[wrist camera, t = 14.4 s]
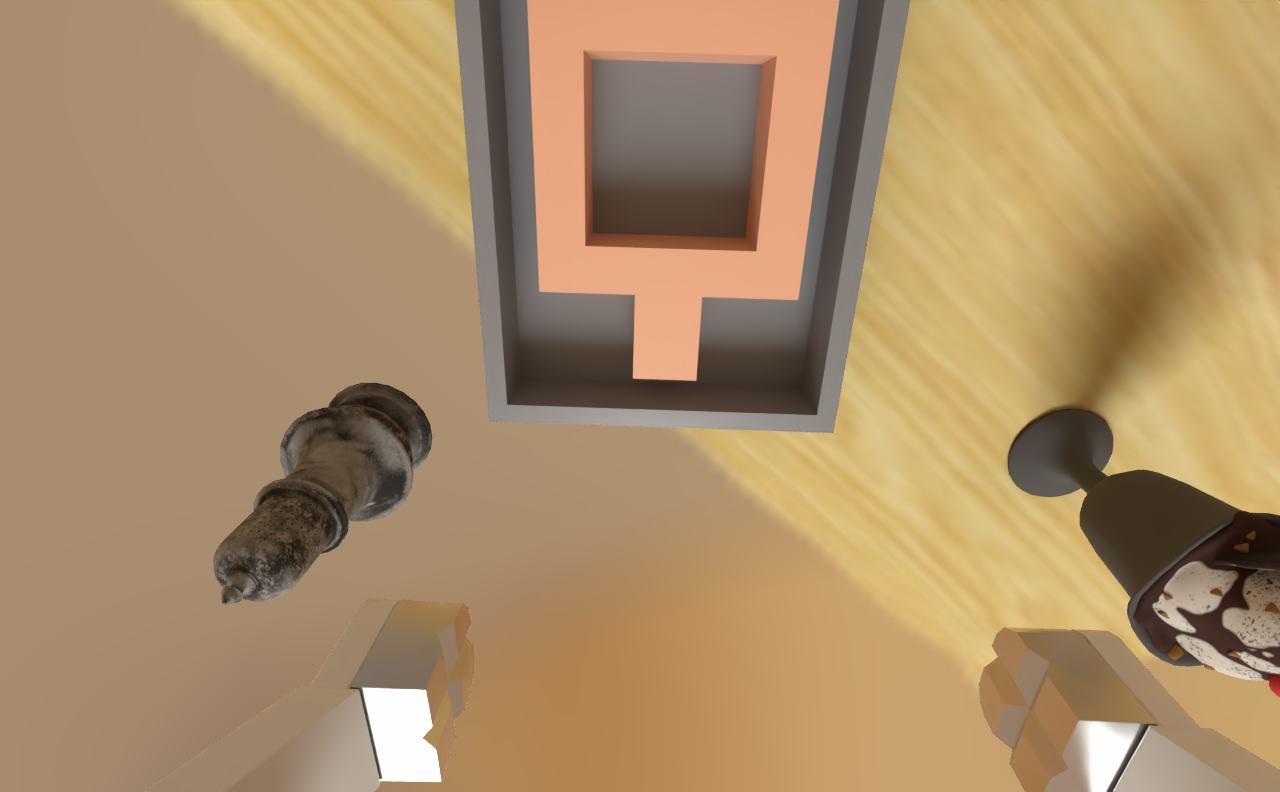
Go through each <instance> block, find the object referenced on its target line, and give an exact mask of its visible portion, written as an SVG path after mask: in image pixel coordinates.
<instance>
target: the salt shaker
mask: <svg viewBox="0 0 1280 792" xmlns="http://www.w3.org/2000/svg"><path fill="white" fill-rule="evenodd" d="M431 442H432V433H431V428H430V423H429V422H428V419H427V417H426V416H425V413H424V412H423V410H422V409H421V408H420V407H419V406H418V404H417V403H416V402H415V401H414V400H413V399H411V398H410V397H408V396H407V395H406V394H405V393H404V392H402V391H399V390H397V389H395V388H393V387H391V386H388V385H383V384H378V383H360V384H356V385H353V386H349V387H348V388H346V389H344V390H343V391H341V392H340V393H338V394H337V395H336V396H335V398H334V399H333V400H332V401H331V402H330V404H329V407H328V408H321V409H318V410H314V411H311V412H308V413H306V414H304V415H303V416H301V417H300V418H298V419H297V420H295V421H294V422H293V423H292V425H291V426H290V427H289V428H288V430H287V431H286V432H285V434H284V437H283V440H282V443H281V463H282V467H283V470H284V473H285V476H286V478H285V479H280V480H276V481H273V482H271V483H270V484H268V485H266V486H265V487H264V488H263V489H262V490H261V491H260V492H259V493H258V495H257V496H256V500H255V502H254V512H253V513H252V514H251V515H249V516H248V517H247V518H246V519H245V520H244V521H243V522H242V523H241V524H240V525H239V526H238V527H237V528H236V529H235V530H234V531H233V532H232V533H231V534H230V535H229V536H228V537H227V538H226V539H225V540H224V541H223V542H222V543H221V544H220V546H219V547H218V549H217V551H216V553H215V556H214V573H215V576H216V578H217V580H218V581H219V583H220V584H221V586H223V587H224V588H223V589H222V590H221V595H222V603H223V604H231V603H236V602H240V601H241V600H242V599H245V600H250V601H266V600H271V599H276V598H279V597H281V596H283V595H284V594H286V593H287V592H289V591H290V590H291V589H292V588H293V587H294V586H295V585H296V584H297V583H298V582H299V580H300V579H301V578H302V577H303V575H304V574H305V573H306V571H307V570H308V569H309V567H310V566H311V565H312V563H313V562H314V561H315V560H316V559H317V557H318V556H319V555H320V554H321V553H326V552H329V551H331V550H333V549H335V548H336V547H338V546H339V544H340V543H341V542H342V541H343V540H344V539H345V536H346V534H347V532H348V521H371V520H375V519H379V518H383V517H385V516H387V515H388V514H390V513H392V512H394V511H396V510H397V509H398V508H399V507H400V505H401V504H402V503H403V502H404V501H405V500H406V498H407V496H408V494H409V492H410V490H411V487H412V479H413V470H415V469H417V468H418V467H419V466H420V465H421V464H422V463H423V462H424V460H425V459H426V458H427V455H428V453H429V451H430V449H431Z"/></svg>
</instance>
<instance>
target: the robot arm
mask: <svg viewBox="0 0 1280 792" xmlns="http://www.w3.org/2000/svg"><path fill="white" fill-rule="evenodd" d="M470 624H471V621H470V614H469V608H468V606H466V605H464V604H454V603H440V602H426V601H412V600H401V601H400V600H387V599H373V598H369V599H368V600H366V601H365V602H364V603H362V604H361V605H360V606H359V608H358V610H357V611H356V613H355V614H354V616H353V618H352V619H351V621H350V623H349V624H348V626H347V627H346V629H345V631H344V632H343V634H342V635H341V637H340V639H339V640H338V642H337V644H336V645H335V647H334V648H333V650H332V651H331V653H330V654H329V656H328V658H327V659H326V661H325V663H324V664H323V666H322V667H321V669H320V670H319V672H318V674H317V675H316V677H315V679H314V680H313V682H312V683H311V685H310V687H298V688H296V689H295V690H293V691H292V692H290V693H289V694H287V695H286V696H284V697H283V698H281V699H280V700H278V701H277V702H275V703H274V704H272V705H271V706H269V707H268V708H266V709H265V710H263V711H262V712H260V713H259V714H257V715H256V716H254V717H253V718H252V719H250V720H249V721H247V722H246V723H244V724H243V725H241V726H240V727H238V728H237V729H235V730H234V731H232V732H231V733H229V734H228V735H226V736H225V737H223V738H222V739H220V740H219V741H217V742H216V743H214V744H213V745H211V746H210V747H209V748H207V749H205V750H204V751H202V752H201V753H200V754H198V755H197V756H195V757H193V758H192V759H191V760H189V761H188V762H186V763H185V764H183V765H182V766H180V767H179V768H177V769H176V770H175V771H173V772H171V773H170V774H169V775H167V776H165V777H164V778H163V779H161V780H159V781H158V782H156V783H155V784H153V785H152V786H150V787H149V788H147V789H146V790H144V791H143V792H374V791H375V790H376V789H377V788H378V787H379V786H380V781H435V782H441V780H442V777H443V774H444V771H445V768H446V765H447V762H448V759H449V756H450V753H451V750H452V747H453V744H454V741H455V738H456V735H455V727H454V719H455V718H456V717H457V716H458V715H460V714H461V713H462V712H463V711H464V710H465V708H466V705H467V701H468V699H469V695H470V692H471V686H472V681H473V675H474V657H475V656H474V646H473V644H472V643H471V642H470V641H469V640H468V639H467V638H466V635H467V632H468V629H469V627H470ZM992 647H993V649H994V651H995V652H996V654H997V656H998V658H996V659H995V660H994V661H992V662H991V663H990V664H988V665H987V666H986V667H984V669H983V673H982V676H981V679H980V682H979V691H980V703H981V707H982V710H983V713H984V716H985V718H986V721H987V722H988V724H989V726H990V728H991V730H992V732H993V734H994V735H995V736H996V737H998V738H999V739H1000V740H1001V741H1003V742H1004V743H1005V744H1006V745H1008V746H1009V747H1010V748H1012V753H1011V759H1010V765H1011V767H1012V768H1013V770H1014V772H1015V774H1016V776H1017V778H1018V780H1019V781H1020V783H1021V785H1022V787H1023V788H1024V790H1025V792H1280V770H1279V769H1277V768H1276V767H1274V766H1272V765H1271V764H1269V763H1268V762H1266V761H1264V760H1263V759H1261V758H1259V757H1258V756H1256V755H1254V754H1252V753H1251V752H1249V751H1248V750H1246V749H1244V748H1243V747H1241V746H1240V745H1238V744H1236V743H1234V742H1233V741H1231V740H1230V739H1228V738H1226V737H1225V736H1223V735H1221V734H1220V733H1218V732H1216V731H1215V730H1213V729H1208V728H1200V727H1199V726H1198V725H1197V724H1196V723H1195V721H1194V720H1193V719H1192V718H1191V717H1190V716H1189V715H1188V714H1187V713H1186V712H1185V710H1184V709H1183V708H1182V707H1181V706H1180V705H1179V704H1178V703H1177V702H1176V700H1175V699H1174V698H1173V697H1172V696H1171V695H1170V694H1169V693H1168V692H1167V690H1166V689H1165V688H1164V687H1163V686H1162V685H1161V684H1160V683H1159V681H1158V680H1157V679H1156V678H1155V677H1154V676H1153V675H1152V674H1151V672H1150V671H1149V670H1148V669H1147V668H1146V667H1145V666H1144V665H1143V664H1142V662H1141V661H1140V660H1139V659H1138V658H1137V657H1136V656H1135V655H1134V654H1133V652H1132V651H1131V650H1130V649H1129V648H1128V647H1127V646H1126V645H1125V644H1124V642H1123V641H1122V640H1121V639H1120V638H1119V637H1117V636H1116V635H1114V634H1112V633H1111V632H1109V631H1100V630H1065V629H1036V628H1007V627H1004V628H1003V629H1002V630H1001V631H999V632H998V633H997V634H996V637H995V640H994V642H993V645H992Z"/></svg>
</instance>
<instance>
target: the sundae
mask: <svg viewBox="0 0 1280 792" xmlns="http://www.w3.org/2000/svg"><path fill="white" fill-rule="evenodd" d="M1112 450H1113V436H1112V433H1111V431H1110V428H1109V426H1108V425H1107V423H1106V422H1105V421H1104V420H1103V419H1102V418H1100V417H1099V416H1097V415H1095V414H1093V413H1092V412H1088V411H1083V410H1072V409H1070V410H1064V411H1059V412H1055V413H1052V414H1049V415H1047V416H1045V417H1043V418H1041V419H1039V420H1037V421H1036V422H1034V423H1033V424H1031V425H1030V426H1029V427H1028V428H1026V429H1025V430H1024V431H1023V432H1022V434H1021V435H1020V436H1019V437H1018V438H1017V439H1016V441H1015V443H1014V445H1013V447H1012V449H1011V452H1010V454H1009V458H1008V469H1009V474H1010V476H1011V478H1012V480H1013V482H1014V483H1015V484H1016V486H1017V487H1019V488H1020V489H1022V490H1023V491H1025V492H1027V493H1029V494H1031V495H1036V496H1043V497H1056V496H1062V495H1066V494H1070V493H1072V492H1074V491H1076V490H1078V489H1080V488H1082V489H1083V490H1084V491H1085V492H1086V493H1087V496H1086V497H1085V499H1084V501H1083V504H1082V508H1081V511H1080V527H1081V529H1082V531H1083V532H1084V534H1085V535H1086V537H1087V539H1088V540H1089V542H1090V544H1091V545H1092V547H1093V548H1094V550H1095V552H1096V553H1097V555H1098V556H1099V557H1100V559H1101V560H1102V561H1103V562H1104V564H1105V565H1106V566H1107V568H1108V569H1109V570H1110V571H1111V573H1112V574H1113V575H1114V576H1115V578H1116V579H1117V580H1118V582H1119V583H1120V584H1121V585H1122V587H1123V588H1124V589H1125V591H1126V592H1127V594H1128V595H1129V596H1130V598H1131V599H1130V601H1129V603H1128V609H1127V614H1128V617H1129V621H1130V624H1131V627H1132V629H1133V630H1134V632H1135V634H1136V635H1137V637H1138V638H1139V640H1140V641H1141V642H1142V643H1143V645H1144V646H1145V647H1146V648H1147V649H1148V651H1149V652H1150V653H1152V654H1153V655H1155V656H1156V657H1158V658H1160V659H1161V660H1163V661H1166V662H1168V663H1170V664H1172V665H1177V666H1199V665H1204V667H1205V668H1208V669H1211V670H1216V671H1219V672H1221V673H1223V674H1226V675H1229V676H1233V677H1238V678H1241V679H1248V680H1268V681H1269V686H1270V688H1271V690H1272V691H1273V692H1274V693H1275V694H1276V695H1277V696H1279V697H1280V516H1279V515H1274V514H1269V513H1249V512H1246V511H1241V510H1239V509H1237V508H1235V507H1233V506H1231V505H1229V504H1227V503H1225V502H1223V501H1221V500H1219V499H1217V498H1215V497H1213V496H1211V495H1208V494H1206V493H1204V492H1202V491H1200V490H1198V489H1196V488H1194V487H1192V486H1190V485H1188V484H1186V483H1184V482H1181V481H1178V480H1176V479H1173V478H1171V477H1168V476H1165V475H1163V474H1160V473H1157V472H1153V471H1148V470H1134V471H1129V472H1124V473H1119V474H1114V475H1111V476H1107V475H1105V474H1104V473H1102V472H1101V471H1102V470H1103V469H1104V467H1105V466H1106V464H1107V463H1108V461H1109V459H1110V457H1111V454H1112Z"/></svg>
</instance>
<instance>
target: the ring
mask: <svg viewBox="0 0 1280 792" xmlns="http://www.w3.org/2000/svg"><path fill="white" fill-rule="evenodd" d="M838 7H839V0H527V8H528V32H529V56H530V80H531V104H532V128H533V152H534V176H535V200H536V224H537V249H538V273H539V292H560V293H592V294H623V295H635V311H634V353H633V379H659V380H689V381H696V378H697V364H698V350H699V335H700V321H701V307H702V297H717V298H748V299H779V300H798V298H799V291H800V284H801V276H802V269H803V262H804V254H805V247H806V240H807V233H808V225H809V218H810V211H811V203H812V196H813V189H814V182H815V174H816V167H817V160H818V152H819V145H820V138H821V131H822V123H823V116H824V109H825V101H826V94H827V87H828V80H829V72H830V65H831V58H832V50H833V43H834V36H835V29H836V21H837V14H838ZM592 59H598V60H632V61H667V62H701V63H736V64H762V70H761V81H760V91H759V101H758V112H757V122H756V132H755V143H754V153H753V163H752V174H751V184H750V195H749V205H748V215H747V226H746V236H745V238H731V237H699V236H667V235H635V234H603V233H593V184H592Z"/></svg>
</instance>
